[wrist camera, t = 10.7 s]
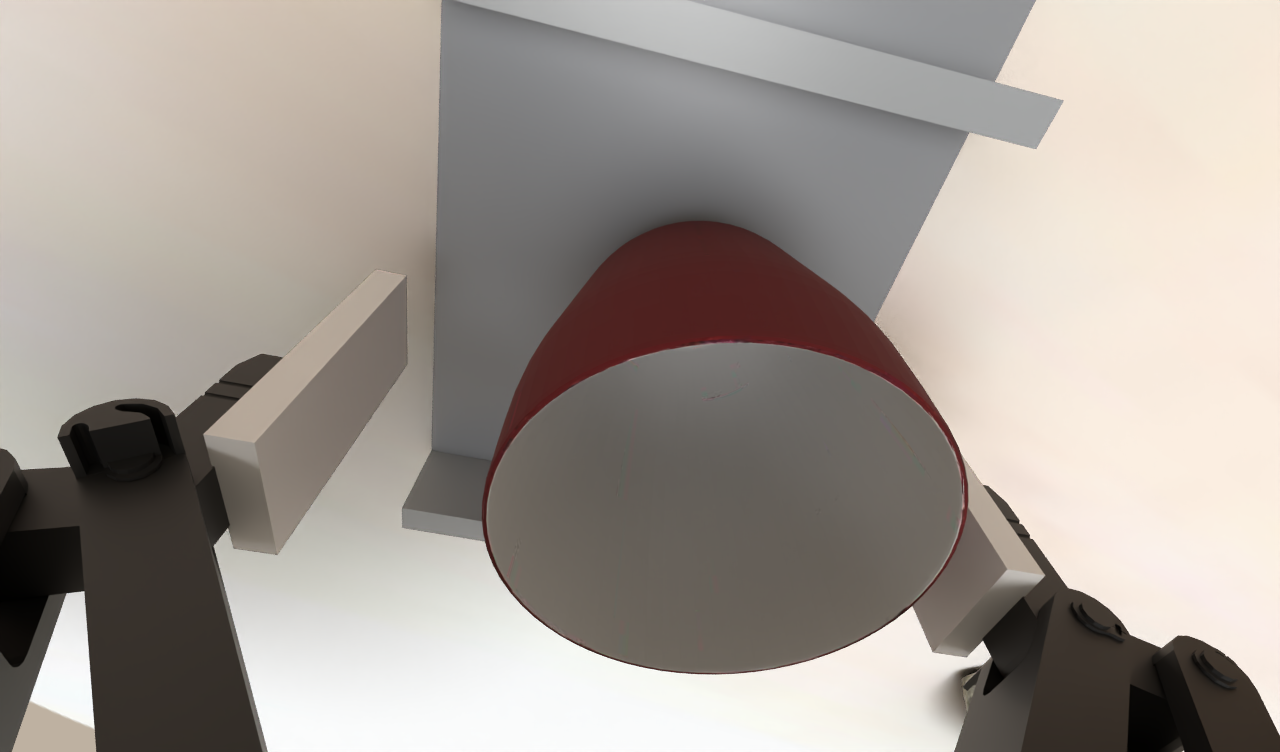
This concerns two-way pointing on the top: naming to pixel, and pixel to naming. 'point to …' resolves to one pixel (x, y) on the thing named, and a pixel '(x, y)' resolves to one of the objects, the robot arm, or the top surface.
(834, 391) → the red cup
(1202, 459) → the top surface
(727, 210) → the rack
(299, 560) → the top surface
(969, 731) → the robot arm
